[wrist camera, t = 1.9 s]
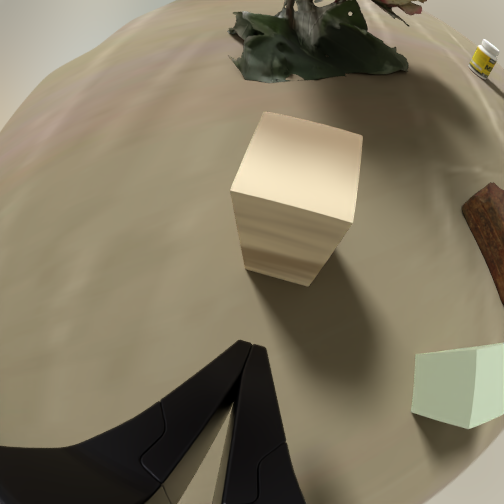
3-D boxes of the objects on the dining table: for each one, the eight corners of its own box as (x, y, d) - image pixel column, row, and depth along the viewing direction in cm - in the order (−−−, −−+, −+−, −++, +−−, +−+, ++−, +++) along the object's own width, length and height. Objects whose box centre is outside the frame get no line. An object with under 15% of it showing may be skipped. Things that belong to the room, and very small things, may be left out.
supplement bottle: (481, 80, 30) (496, 51, 22) (464, 64, 32) (478, 36, 24) (489, 80, 31) (503, 53, 23) (473, 65, 32) (486, 39, 24)
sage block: (454, 402, 15) (513, 409, 8) (411, 412, 15) (468, 428, 9) (457, 348, 16) (518, 339, 10) (415, 354, 17) (476, 349, 10)
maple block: (308, 286, 19) (352, 223, 9) (245, 269, 19) (230, 190, 10) (322, 229, 20) (362, 135, 11) (263, 213, 21) (263, 111, 11)
